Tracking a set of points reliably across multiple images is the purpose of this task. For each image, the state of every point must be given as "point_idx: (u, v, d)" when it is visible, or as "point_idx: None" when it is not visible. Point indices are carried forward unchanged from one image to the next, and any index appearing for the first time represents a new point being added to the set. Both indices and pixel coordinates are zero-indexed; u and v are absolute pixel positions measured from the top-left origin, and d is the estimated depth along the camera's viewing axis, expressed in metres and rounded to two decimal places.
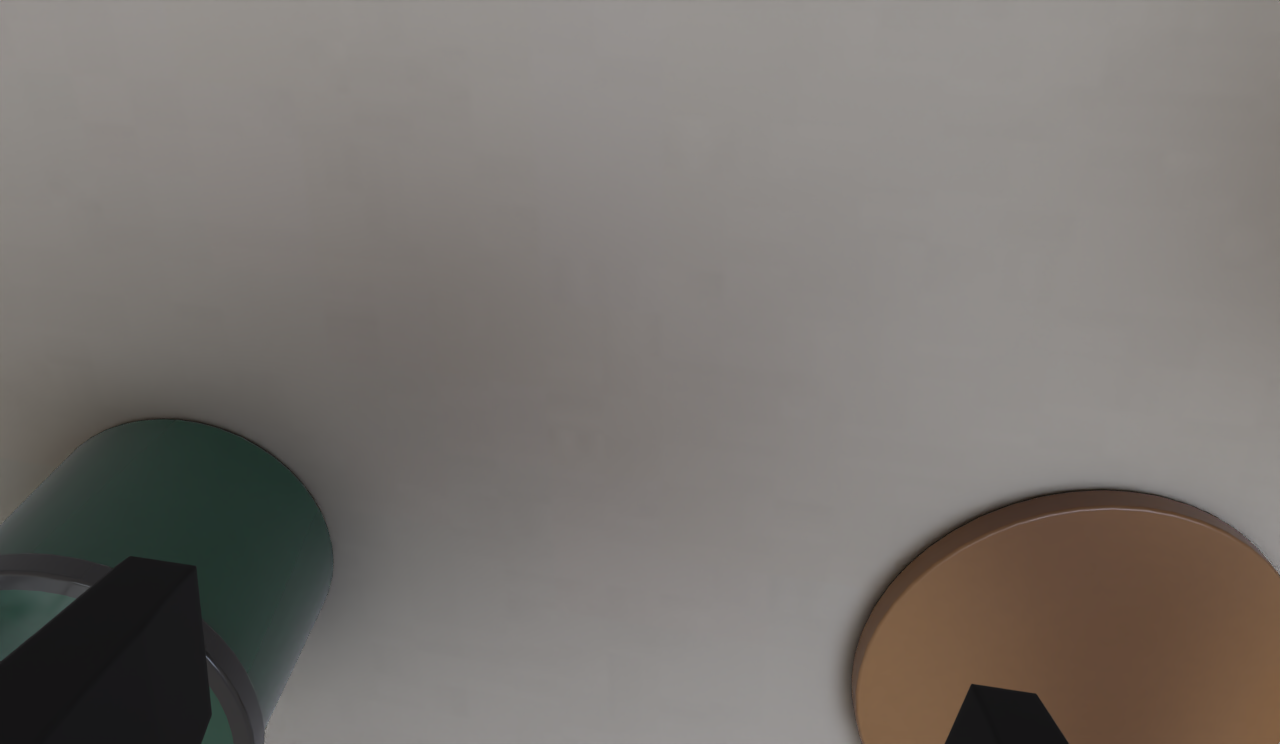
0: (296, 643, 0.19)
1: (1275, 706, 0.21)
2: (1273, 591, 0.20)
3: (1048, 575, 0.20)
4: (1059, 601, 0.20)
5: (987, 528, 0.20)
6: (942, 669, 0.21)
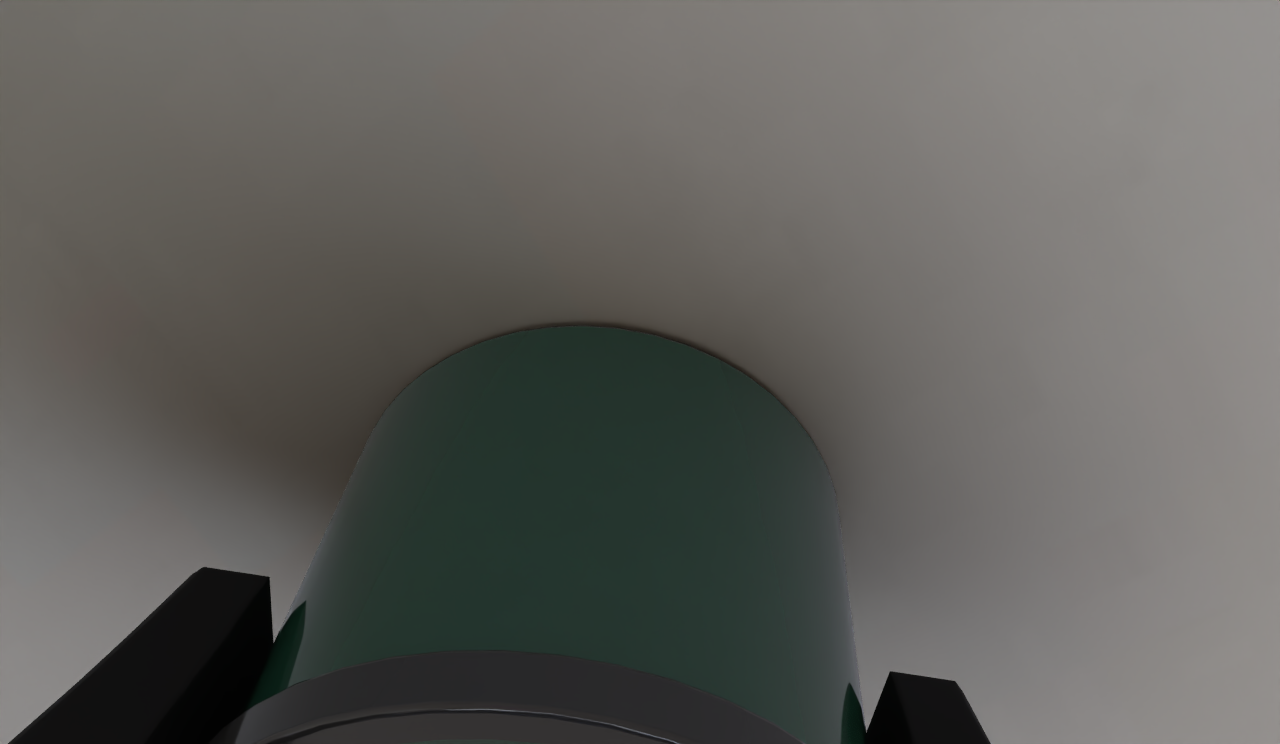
0: None
1: None
2: None
3: None
4: None
5: None
6: None
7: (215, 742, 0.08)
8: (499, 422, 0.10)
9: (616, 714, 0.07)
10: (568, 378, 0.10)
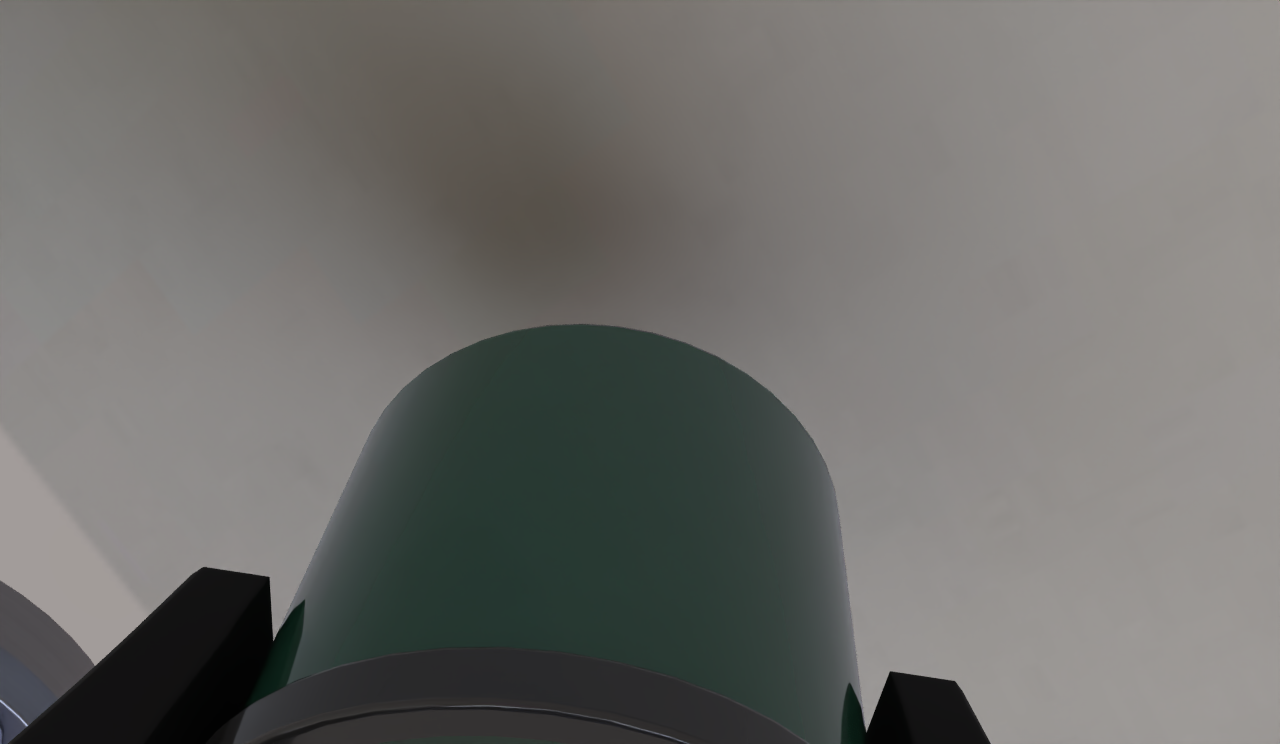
0: None
1: None
2: None
3: None
4: None
5: None
6: None
7: (216, 739, 0.08)
8: (498, 418, 0.10)
9: (616, 711, 0.07)
10: (568, 376, 0.10)
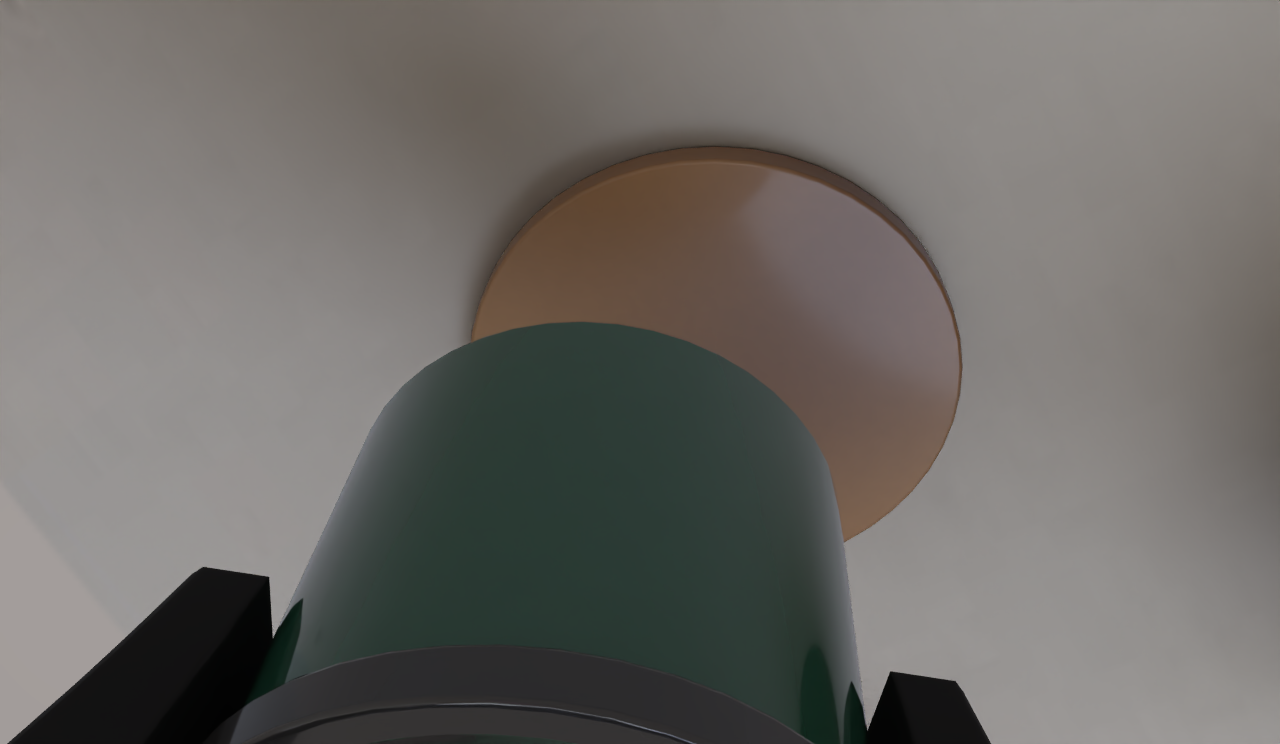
0: None
1: None
2: (929, 443, 0.19)
3: (815, 267, 0.18)
4: (795, 298, 0.18)
5: (822, 177, 0.17)
6: (643, 262, 0.18)
7: (213, 738, 0.08)
8: (499, 416, 0.10)
9: (616, 709, 0.07)
10: (568, 373, 0.10)
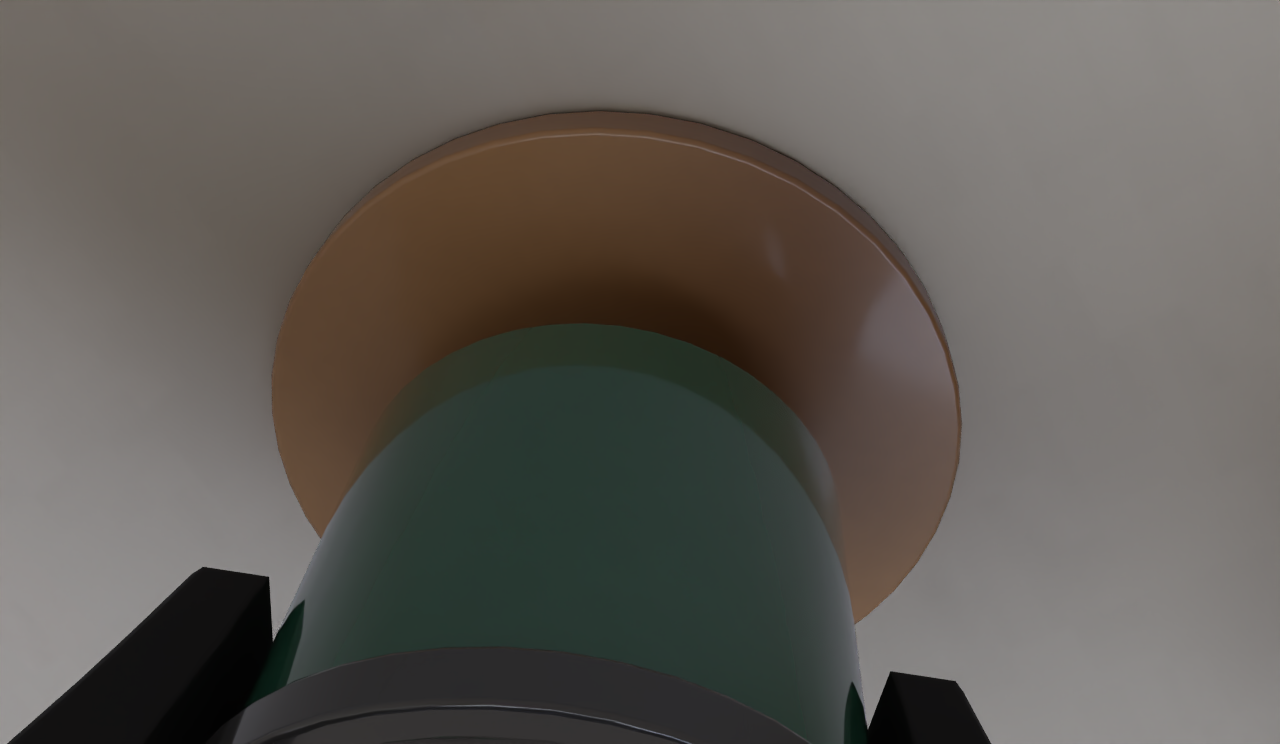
0: None
1: None
2: (917, 529, 0.14)
3: (747, 286, 0.12)
4: (721, 330, 0.13)
5: (753, 155, 0.12)
6: (501, 280, 0.12)
7: (215, 740, 0.08)
8: (500, 417, 0.10)
9: (617, 710, 0.07)
10: (569, 375, 0.10)
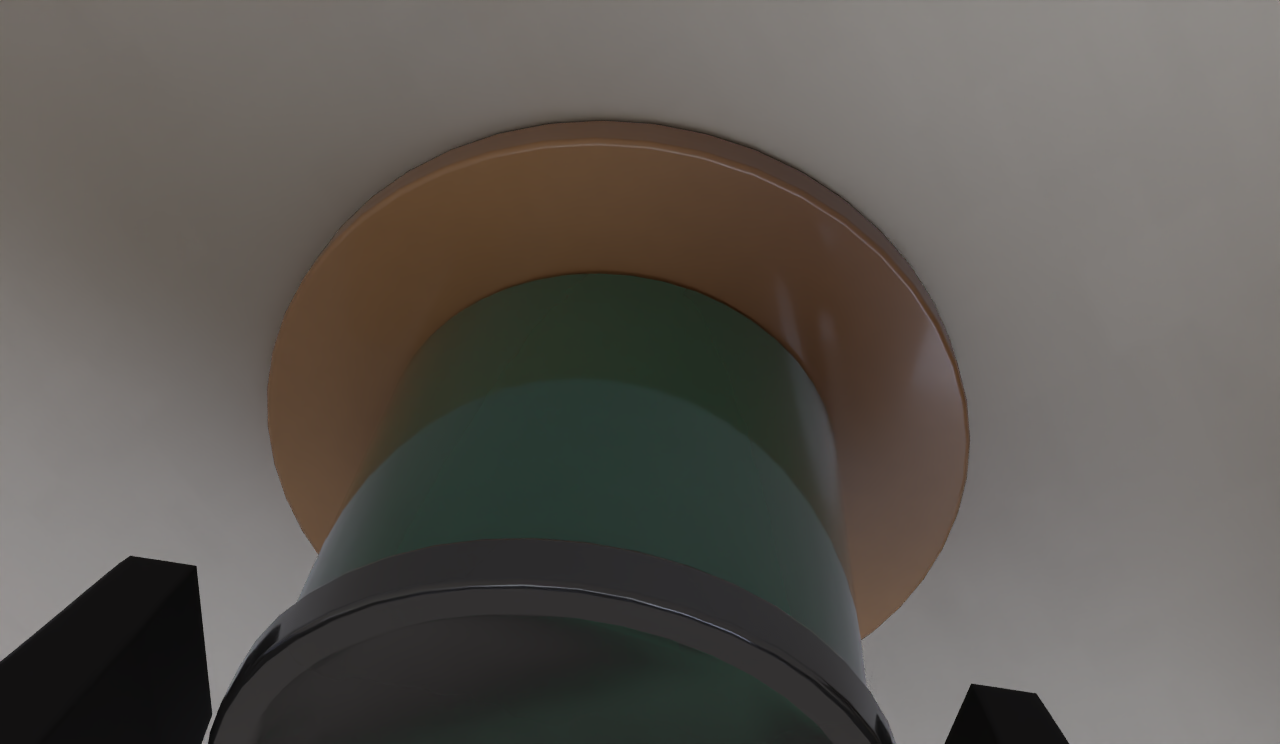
0: None
1: None
2: (923, 544, 0.14)
3: (752, 299, 0.12)
4: None
5: (758, 166, 0.11)
6: None
7: (274, 627, 0.09)
8: (524, 354, 0.11)
9: (636, 590, 0.08)
10: (587, 317, 0.11)
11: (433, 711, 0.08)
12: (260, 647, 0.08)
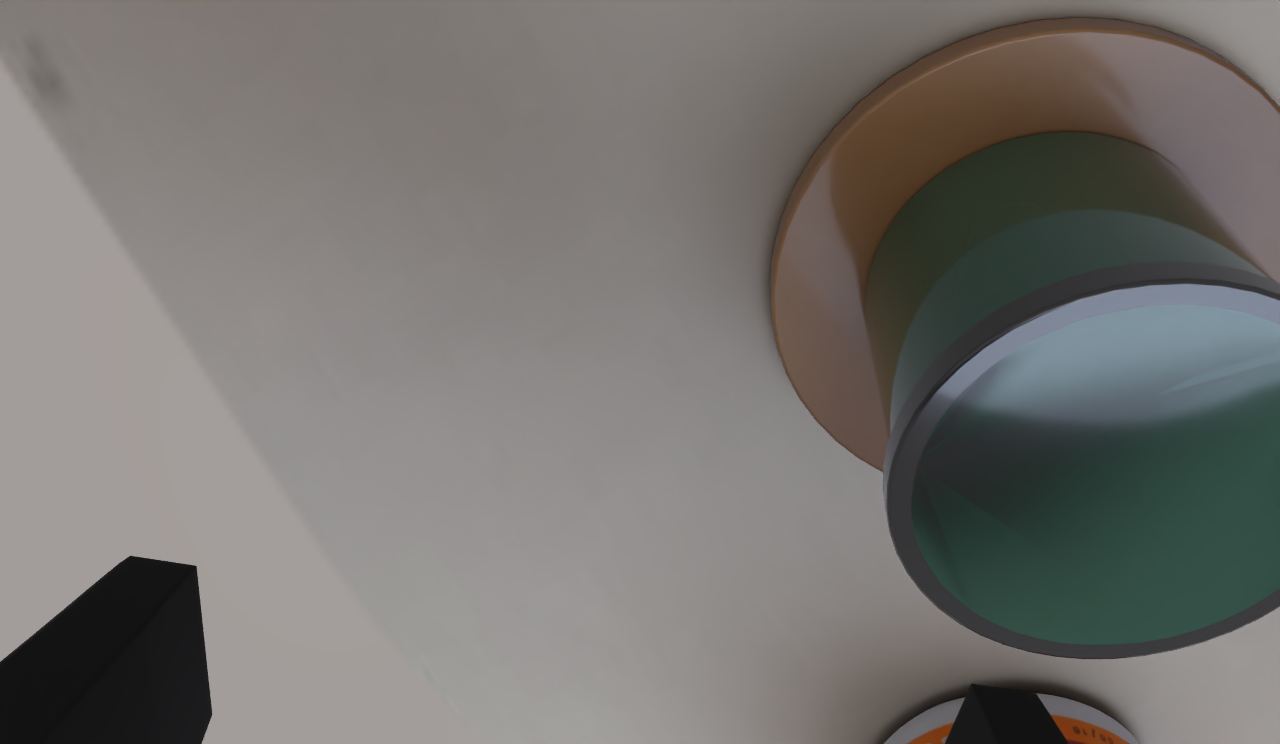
0: None
1: None
2: None
3: (1178, 152, 0.16)
4: None
5: (1200, 49, 0.16)
6: None
7: (977, 330, 0.13)
8: (1055, 177, 0.15)
9: (1256, 287, 0.12)
10: (1084, 156, 0.15)
11: (1087, 385, 0.13)
12: (970, 343, 0.13)
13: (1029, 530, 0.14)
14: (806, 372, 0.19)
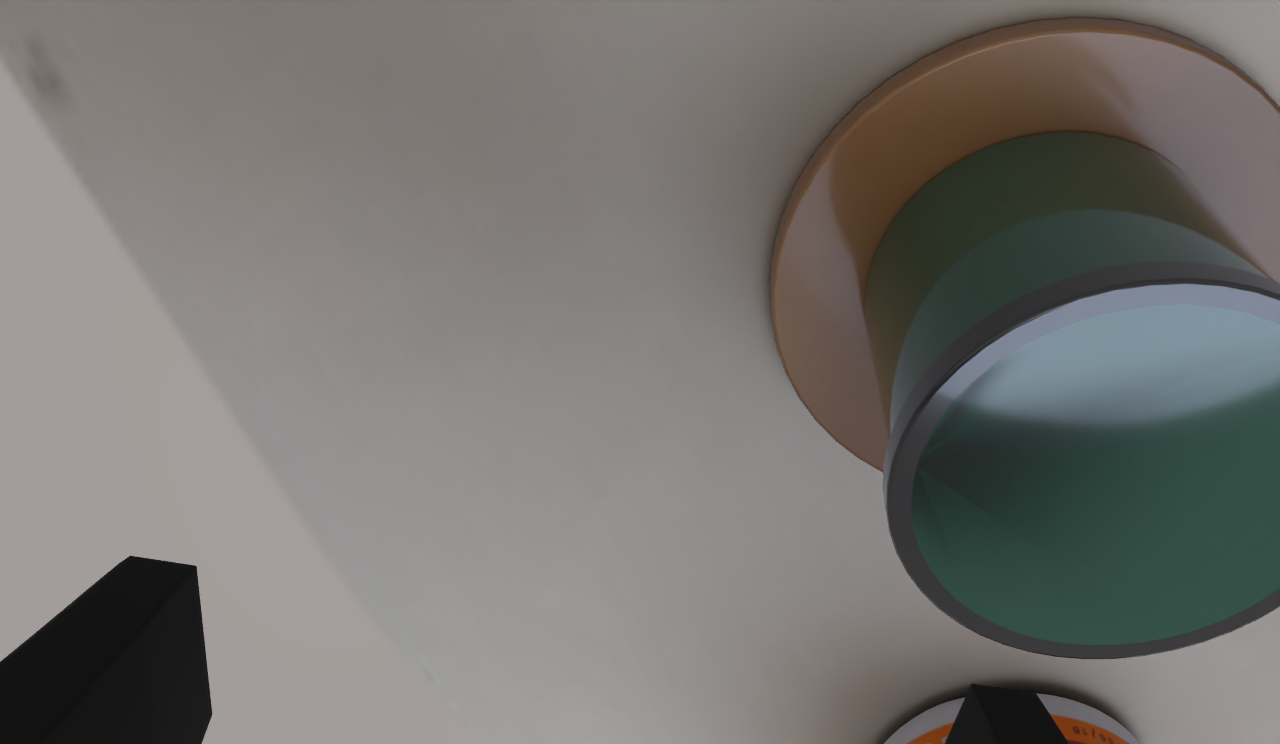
0: None
1: None
2: None
3: (1178, 151, 0.16)
4: None
5: (1200, 49, 0.16)
6: None
7: (977, 330, 0.13)
8: (1055, 177, 0.15)
9: (1256, 287, 0.12)
10: (1084, 156, 0.15)
11: (1087, 385, 0.13)
12: (970, 343, 0.13)
13: (1029, 530, 0.14)
14: (806, 372, 0.19)
